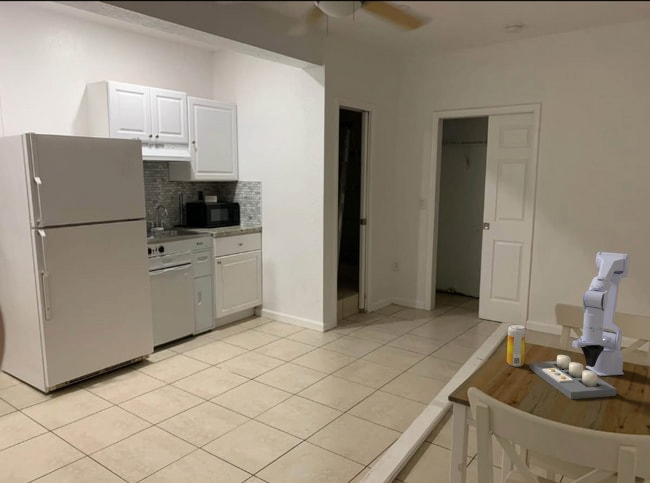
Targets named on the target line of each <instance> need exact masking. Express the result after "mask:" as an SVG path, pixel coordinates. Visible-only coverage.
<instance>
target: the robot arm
mask: <svg viewBox="0 0 650 483" xmlns="http://www.w3.org/2000/svg"><path fill="white" fill-rule="evenodd" d="M595 256H596V257H595V267H596V269H597V270H596V271H597V272H598V275H596V276H595V277H593V278H592V280H591V283H590V285H589V288H588V290H587V291H586V290H585V291H584V292H583V294H582V312H583V323H582V324H583V326H582V335H580V338H578V339H576V340H575V339H574V340H573V341H572V345H571V346H572V347H573V348H575V349H580V348H581V351H582V353H583V356H584V360H585V364H586V366H585V368H586V369H587V370H588V371H593V372H596V373H597V374H598V376H600V377H604V376H619V375H625V374H624V371H623V365H624V355H623V351H622V349H621V347H622V341H623V330H622V328H621V327H620V326H619V325H617V323H615V319H616V311H617V304H618V297H619V289H620V283H621V280H622V279H623V278H624V279H625V278H627V277H628V274H629V270H630V264H631V257H630V255H629V254H628V253H618V252H609V251H608V252H607V251H606V252H605V251H601V250H600V251H598V252H597V253H596V255H595Z"/></svg>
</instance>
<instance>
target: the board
mask: <svg viewBox="0 0 650 483" xmlns="http://www.w3.org/2000/svg"><path fill="white" fill-rule="evenodd" d="M571 362H573V361H570V363H571ZM547 368H556V369H558V370H559V371H561V372H562V373H564V374H565V375H567V376H568V377H570V378H571V379H573V382H560V383H559V382H558V381H556V380H555V379H554V378H552V377H551V376H549V375H548V374H546V373H545V372H544V371H542V369H547ZM530 369H531V371H532V372H533V373H534V374H536V375H537V376H539V377H540V378H541V379H543V380H544V381H546V382H547V383H548V384H550V385H551V386H552V387H554V388H555V389H557V390H558V391H559V392H561V393H562V394H563V395H565V396H566V397H567V398H569V399H570V400H576V399H577V400H579V399H589V398H600V397H601V398H603V397H615V396H617V390H618V389H617V387H615V386H613V385H611V384H610V383H608V382H606V381H605V380H603V379H601V378H600V377H598V376H597V386H595V387H590V386H586V385H584V384H582V377H581V378H576V377H572V376H570V375H569V369H567V370H565V369H564V370H562V369H560V368H558V367H557V360H555V361H539V362H538V361H537V362H529V370H530ZM585 370H586V369H585V368H583V371H585Z"/></svg>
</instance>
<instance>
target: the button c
mask: <svg viewBox="0 0 650 483" xmlns="http://www.w3.org/2000/svg"><path fill="white" fill-rule="evenodd" d="M598 376H599V375H598V374H597V373H596V372H593V371H591V370H589V369H587V370H586V369H585V371H583V372H582V384H584V385H586V387H595V386H597V377H598Z"/></svg>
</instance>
